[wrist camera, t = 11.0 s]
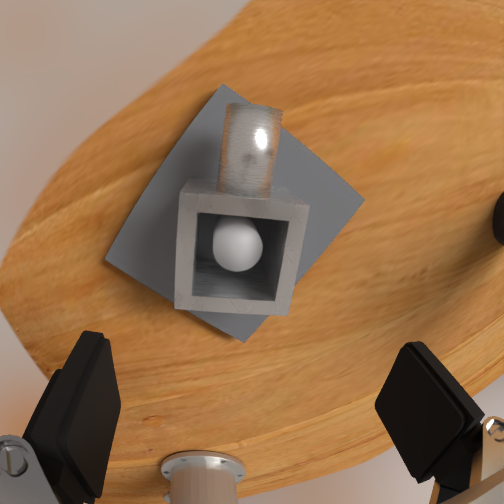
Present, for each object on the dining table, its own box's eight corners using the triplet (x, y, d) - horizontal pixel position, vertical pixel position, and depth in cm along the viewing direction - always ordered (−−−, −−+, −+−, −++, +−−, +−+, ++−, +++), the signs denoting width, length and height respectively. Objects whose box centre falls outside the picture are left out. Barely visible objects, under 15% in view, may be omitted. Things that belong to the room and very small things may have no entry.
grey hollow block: (271, 275, 24) (287, 315, 19) (183, 268, 23) (174, 308, 18) (295, 121, 20) (323, 116, 15) (197, 108, 19) (190, 97, 14)
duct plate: (242, 333, 28) (249, 377, 22) (109, 252, 24) (84, 284, 18) (357, 196, 24) (394, 213, 19) (222, 86, 20) (224, 69, 15)
